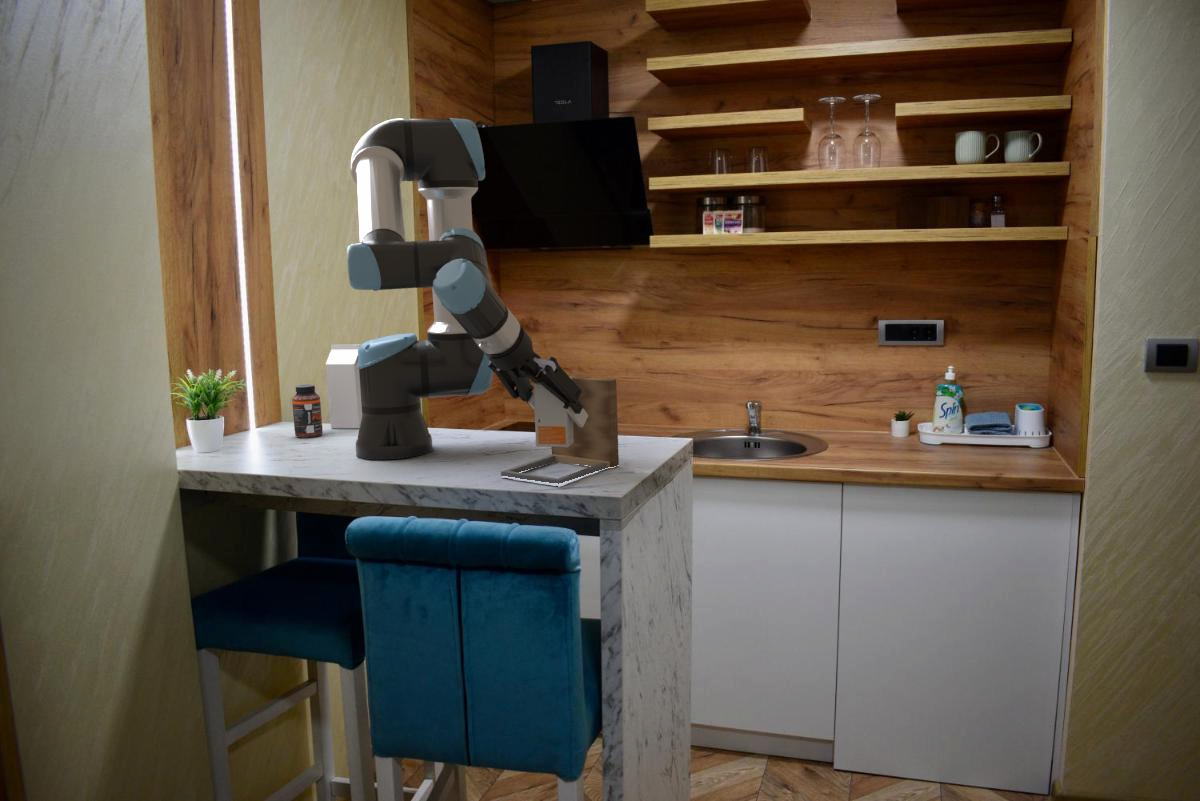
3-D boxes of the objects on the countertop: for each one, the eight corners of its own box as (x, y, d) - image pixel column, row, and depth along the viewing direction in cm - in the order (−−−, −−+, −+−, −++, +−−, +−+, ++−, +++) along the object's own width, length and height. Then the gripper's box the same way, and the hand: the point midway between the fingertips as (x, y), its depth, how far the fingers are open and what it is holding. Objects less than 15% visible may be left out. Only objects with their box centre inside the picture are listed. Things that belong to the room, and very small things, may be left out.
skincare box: (535, 447, 164) (532, 380, 162) (542, 442, 168) (539, 376, 166) (569, 447, 163) (566, 379, 161) (574, 442, 167) (572, 376, 165)
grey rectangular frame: (501, 478, 165) (500, 471, 164) (554, 460, 176) (553, 454, 176) (559, 487, 157) (558, 480, 157) (610, 468, 169) (610, 461, 169)
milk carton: (359, 429, 213) (352, 346, 209) (330, 428, 214) (323, 346, 211) (373, 422, 220) (366, 342, 216) (345, 422, 221) (338, 342, 218)
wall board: (551, 459, 177) (548, 376, 174) (558, 457, 178) (555, 375, 176) (612, 468, 169) (609, 381, 166) (618, 466, 170) (616, 379, 167)
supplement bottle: (318, 438, 204) (313, 387, 202) (291, 438, 204) (286, 387, 202) (326, 432, 210) (322, 382, 208) (300, 433, 210) (295, 383, 208)
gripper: (447, 354, 156) (515, 431, 172) (539, 359, 145) (603, 442, 160) (467, 319, 159) (532, 398, 175) (559, 322, 148) (620, 406, 164)
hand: (566, 419), depth 168 cm, fingers closed on skincare box, 7 cm apart
